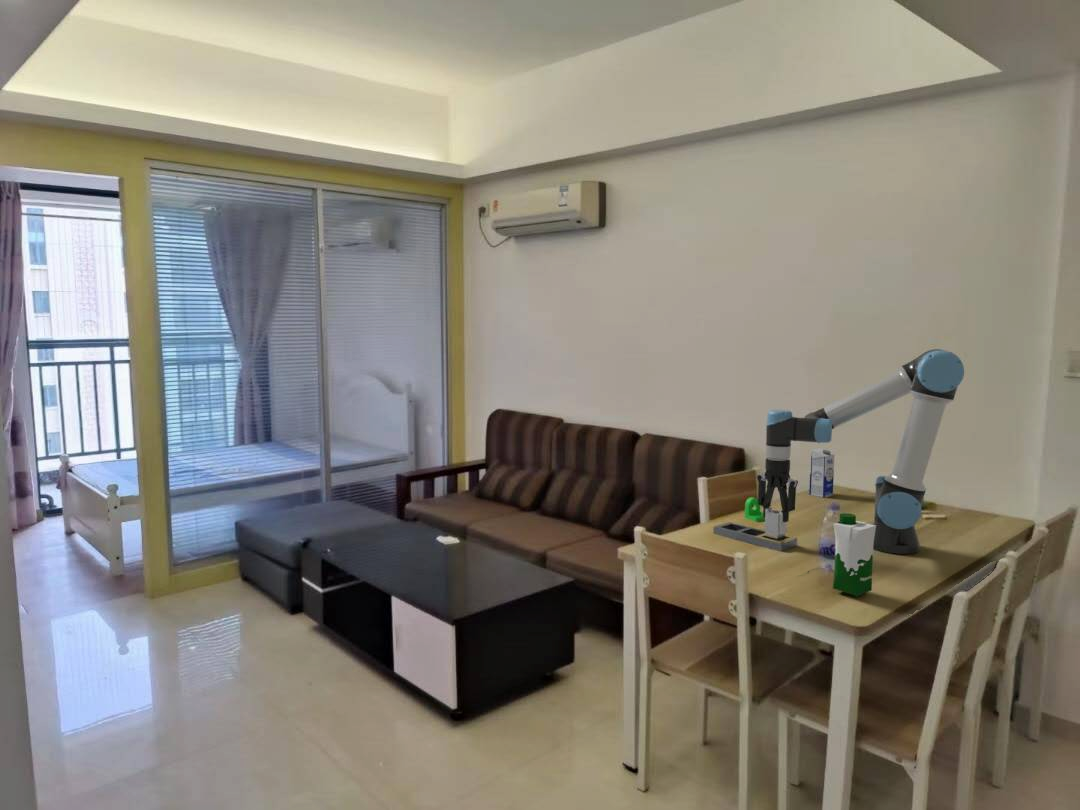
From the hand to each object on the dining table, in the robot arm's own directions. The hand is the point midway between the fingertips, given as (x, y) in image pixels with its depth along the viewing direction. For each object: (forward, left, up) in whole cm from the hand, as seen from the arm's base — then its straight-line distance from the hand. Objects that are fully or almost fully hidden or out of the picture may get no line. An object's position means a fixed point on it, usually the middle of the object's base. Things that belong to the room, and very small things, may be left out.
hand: (775, 529), depth 236 cm
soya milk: (-36, +20, -5) cm, 42 cm away
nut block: (0, 0, -2) cm, 2 cm away
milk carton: (+25, -73, -5) cm, 77 cm away
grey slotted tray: (+8, 0, -5) cm, 9 cm away
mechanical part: (+21, -26, -6) cm, 34 cm away
